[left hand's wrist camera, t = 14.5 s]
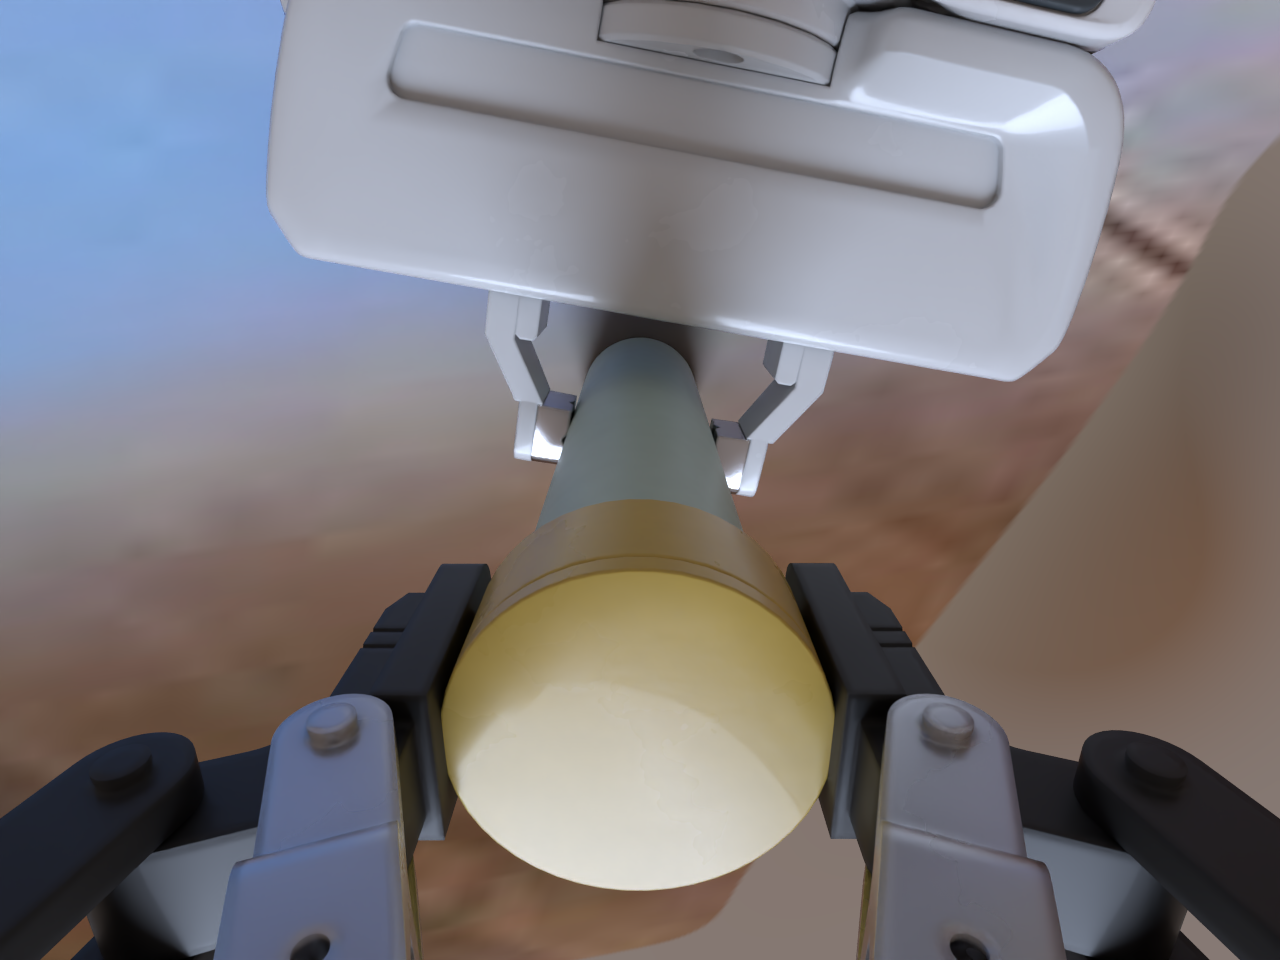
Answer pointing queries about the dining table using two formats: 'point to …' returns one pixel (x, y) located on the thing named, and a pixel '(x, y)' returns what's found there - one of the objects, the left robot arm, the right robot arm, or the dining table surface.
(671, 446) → the mint green cylinder
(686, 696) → the lid
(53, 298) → the dining table surface
